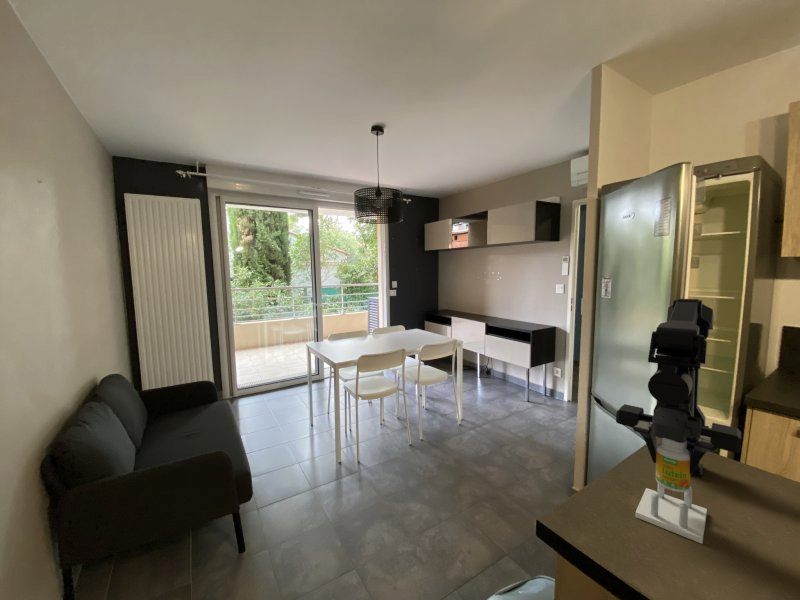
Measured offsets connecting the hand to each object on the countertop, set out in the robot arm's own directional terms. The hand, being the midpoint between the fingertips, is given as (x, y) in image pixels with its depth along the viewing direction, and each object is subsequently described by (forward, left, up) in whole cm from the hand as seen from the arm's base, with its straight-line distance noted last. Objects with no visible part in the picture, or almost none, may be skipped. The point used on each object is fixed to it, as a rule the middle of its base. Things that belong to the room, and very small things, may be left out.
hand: (672, 467), depth 67 cm
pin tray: (0, 0, -10) cm, 10 cm away
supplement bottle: (0, 0, -4) cm, 4 cm away
